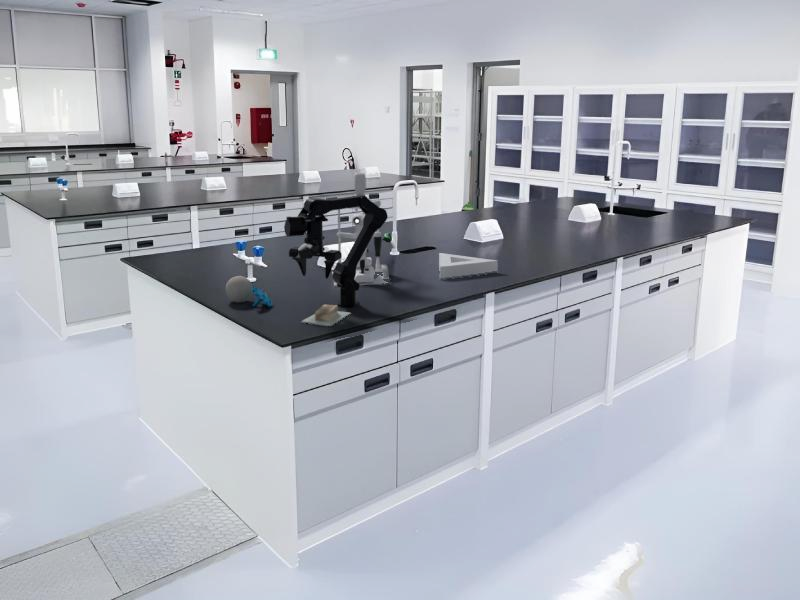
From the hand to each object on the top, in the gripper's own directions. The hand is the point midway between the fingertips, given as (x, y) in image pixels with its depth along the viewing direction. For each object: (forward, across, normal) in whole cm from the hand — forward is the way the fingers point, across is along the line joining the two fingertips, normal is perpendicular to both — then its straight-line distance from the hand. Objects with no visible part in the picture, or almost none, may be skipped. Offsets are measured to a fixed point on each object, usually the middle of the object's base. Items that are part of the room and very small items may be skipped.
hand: (315, 277), depth 251 cm
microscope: (+12, -5, +49) cm, 51 cm away
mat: (+12, +9, -9) cm, 17 cm away
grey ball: (+12, -31, -3) cm, 33 cm away
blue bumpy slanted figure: (+12, -20, -4) cm, 24 cm away
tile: (+11, +9, -9) cm, 17 cm away
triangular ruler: (+13, +34, +80) cm, 88 cm away
